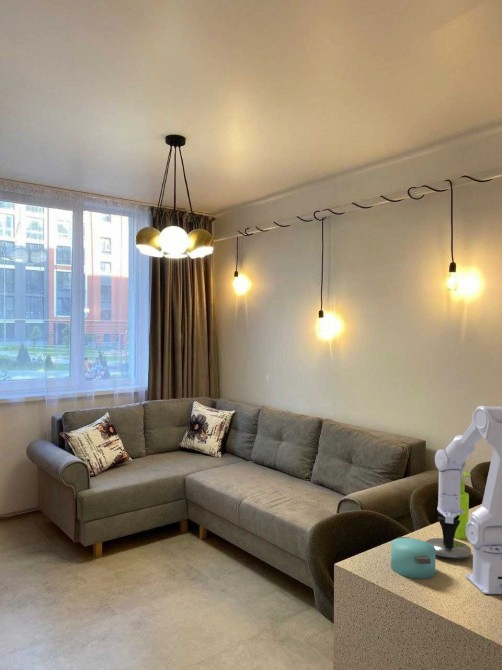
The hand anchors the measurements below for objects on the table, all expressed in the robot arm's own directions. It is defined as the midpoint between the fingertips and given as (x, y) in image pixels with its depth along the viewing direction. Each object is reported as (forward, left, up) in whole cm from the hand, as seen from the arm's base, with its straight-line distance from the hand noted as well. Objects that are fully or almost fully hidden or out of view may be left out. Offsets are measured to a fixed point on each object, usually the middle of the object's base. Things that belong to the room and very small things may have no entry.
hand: (448, 541), depth 142 cm
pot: (-10, +14, -4) cm, 17 cm away
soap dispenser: (+14, -10, -4) cm, 18 cm away
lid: (0, 0, -2) cm, 2 cm away
